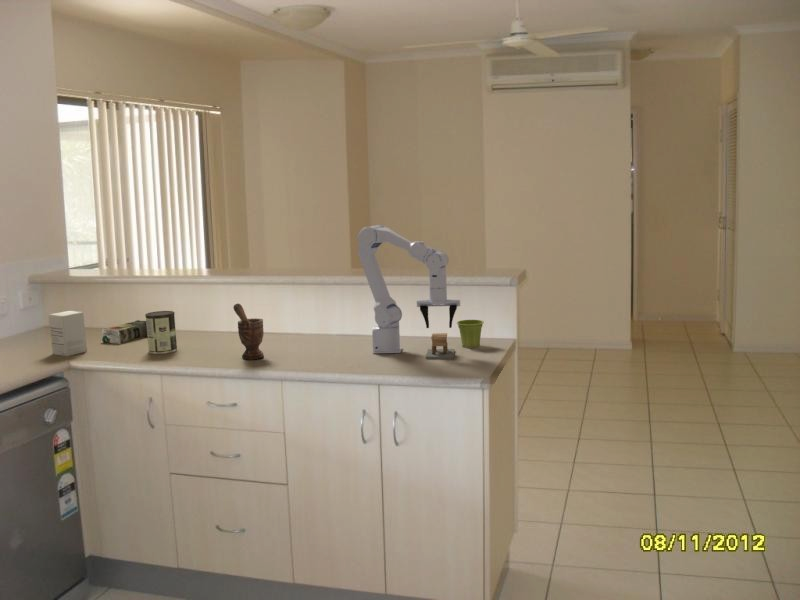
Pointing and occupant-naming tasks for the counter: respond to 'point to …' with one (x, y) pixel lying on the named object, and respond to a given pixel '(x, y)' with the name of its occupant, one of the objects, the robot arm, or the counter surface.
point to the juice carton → (125, 332)
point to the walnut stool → (439, 342)
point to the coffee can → (161, 332)
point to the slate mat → (440, 354)
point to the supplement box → (67, 333)
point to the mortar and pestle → (249, 334)
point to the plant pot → (470, 332)
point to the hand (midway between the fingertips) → (439, 327)
